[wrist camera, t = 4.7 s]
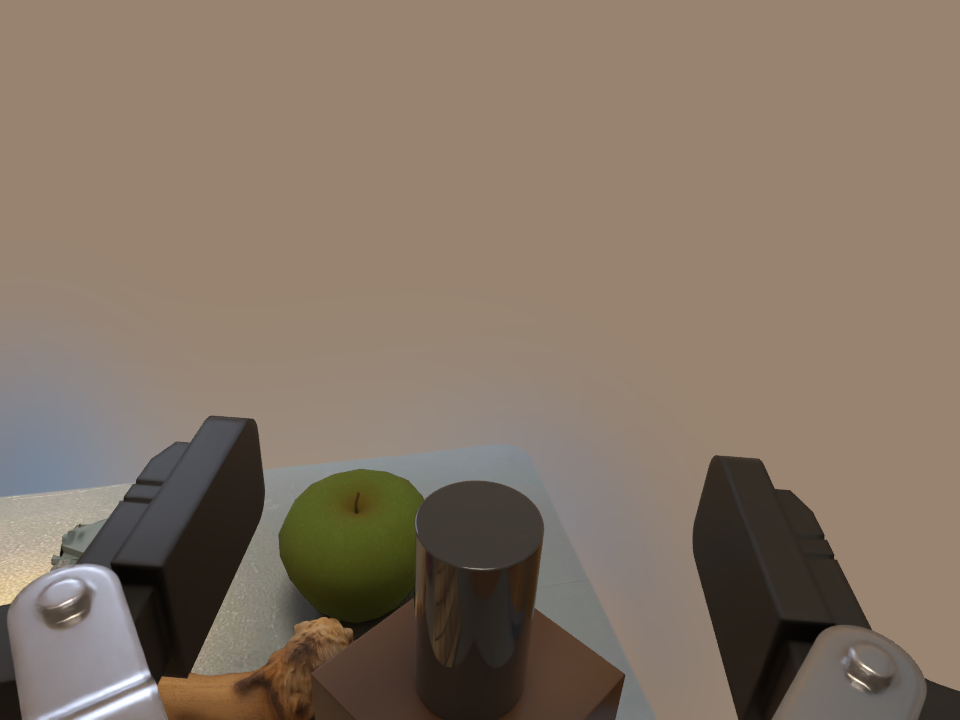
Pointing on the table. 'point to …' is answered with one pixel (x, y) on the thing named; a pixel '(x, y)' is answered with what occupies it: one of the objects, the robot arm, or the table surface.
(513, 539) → the glossy dark cylinder
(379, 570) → the apple
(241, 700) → the lion figurine
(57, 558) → the toy car
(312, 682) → the walnut plinth
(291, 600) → the table surface
